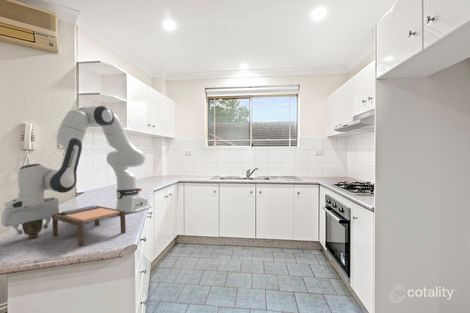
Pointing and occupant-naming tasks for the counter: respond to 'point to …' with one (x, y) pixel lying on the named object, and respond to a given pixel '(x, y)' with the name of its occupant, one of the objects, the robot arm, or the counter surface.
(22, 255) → the counter surface
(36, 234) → the bronze rounded piece
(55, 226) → the frame
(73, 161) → the robot arm
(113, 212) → the trapdoor
